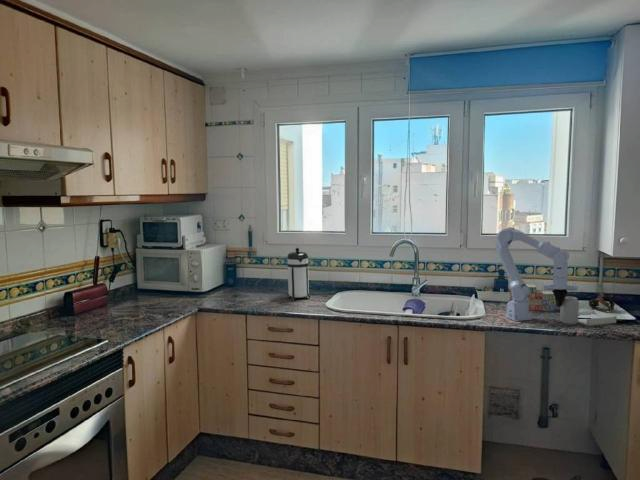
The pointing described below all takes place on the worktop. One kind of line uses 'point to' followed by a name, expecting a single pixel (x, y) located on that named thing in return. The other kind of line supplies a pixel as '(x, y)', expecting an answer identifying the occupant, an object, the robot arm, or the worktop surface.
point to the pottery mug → (594, 303)
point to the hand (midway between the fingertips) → (559, 305)
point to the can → (569, 310)
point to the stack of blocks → (539, 299)
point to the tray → (596, 321)
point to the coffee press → (298, 274)
